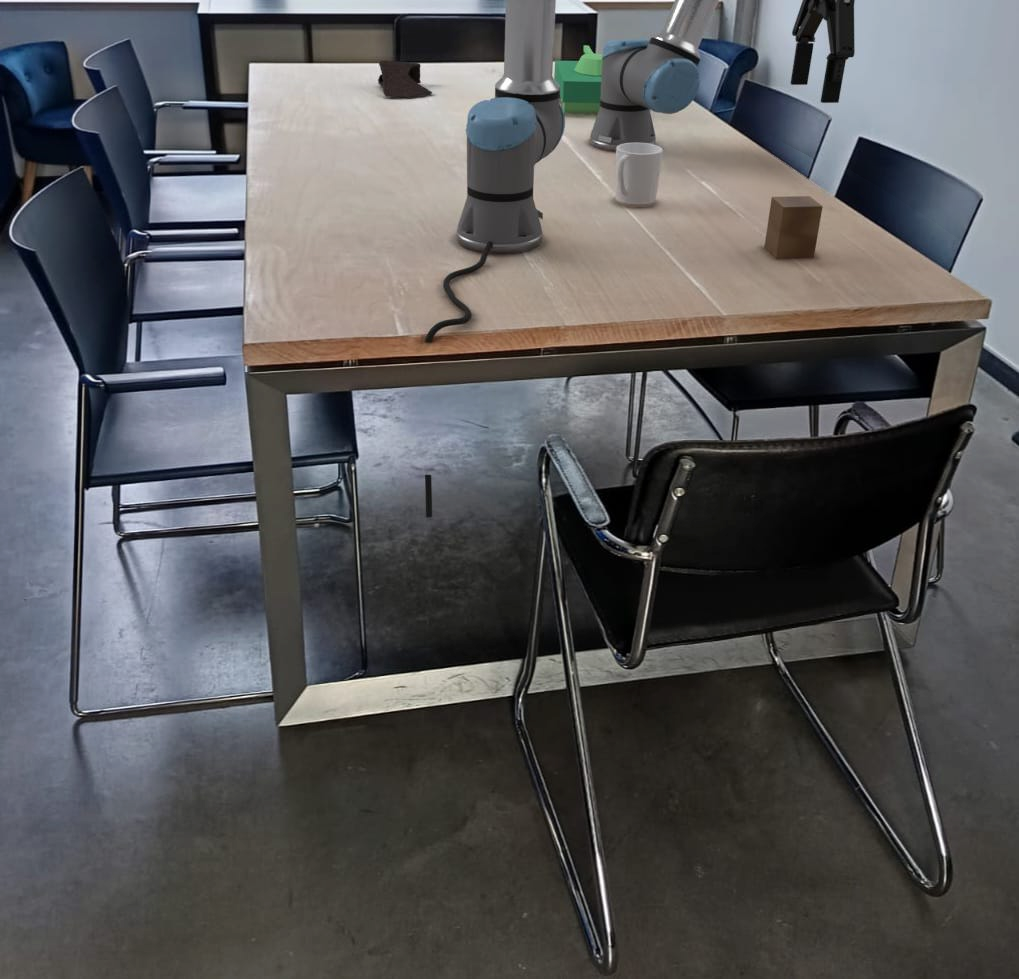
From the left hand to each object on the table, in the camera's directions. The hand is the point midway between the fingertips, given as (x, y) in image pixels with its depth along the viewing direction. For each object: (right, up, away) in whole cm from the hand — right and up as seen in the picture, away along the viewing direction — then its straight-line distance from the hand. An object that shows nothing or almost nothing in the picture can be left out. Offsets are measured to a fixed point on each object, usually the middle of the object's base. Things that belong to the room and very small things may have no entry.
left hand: (813, 93), depth 179 cm
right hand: (-44, +32, +37) cm, 66 cm away
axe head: (-79, +44, +121) cm, 151 cm away
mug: (-26, -8, +37) cm, 46 cm away
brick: (0, -23, +14) cm, 27 cm away
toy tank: (-29, +39, +114) cm, 124 cm away
